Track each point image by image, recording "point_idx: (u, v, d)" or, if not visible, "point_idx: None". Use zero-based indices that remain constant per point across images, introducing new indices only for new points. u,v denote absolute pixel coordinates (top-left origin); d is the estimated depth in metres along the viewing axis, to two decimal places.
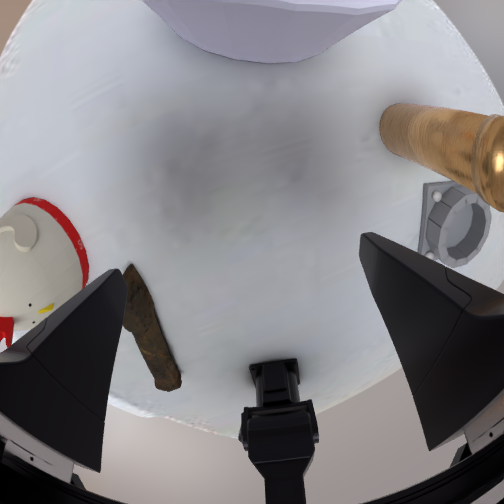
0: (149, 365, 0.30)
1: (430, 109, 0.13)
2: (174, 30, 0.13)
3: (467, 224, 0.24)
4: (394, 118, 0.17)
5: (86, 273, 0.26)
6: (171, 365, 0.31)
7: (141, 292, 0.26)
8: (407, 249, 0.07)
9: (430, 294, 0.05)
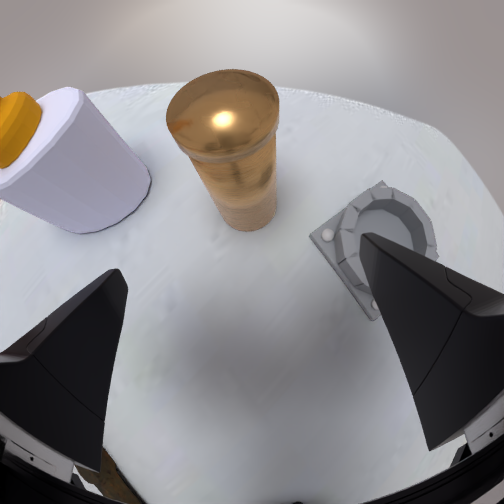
0: None
1: None
2: (52, 223, 0.22)
3: (404, 235, 0.21)
4: None
5: None
6: None
7: None
8: (407, 249, 0.07)
9: (430, 294, 0.05)
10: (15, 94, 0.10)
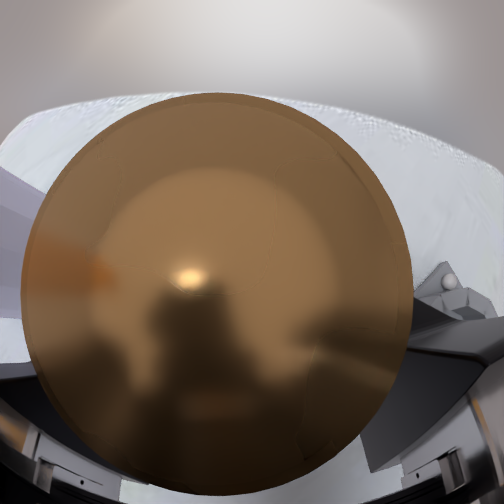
0: None
1: None
2: None
3: None
4: None
5: None
6: None
7: None
8: None
9: None
10: None
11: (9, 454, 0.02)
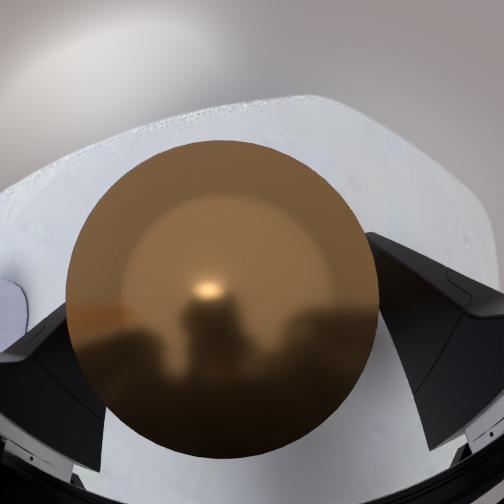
0: None
1: None
2: None
3: None
4: None
5: None
6: None
7: None
8: (407, 249, 0.07)
9: (431, 294, 0.05)
10: None
11: None
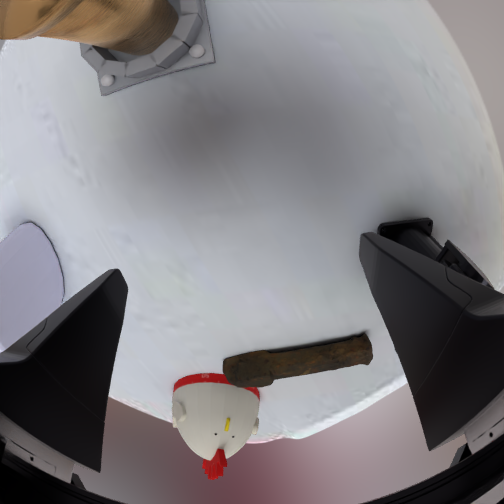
0: (327, 370, 0.30)
1: None
2: None
3: None
4: None
5: None
6: (338, 349, 0.30)
7: (241, 364, 0.31)
8: (407, 249, 0.07)
9: (430, 294, 0.05)
10: None
11: None
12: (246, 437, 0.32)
